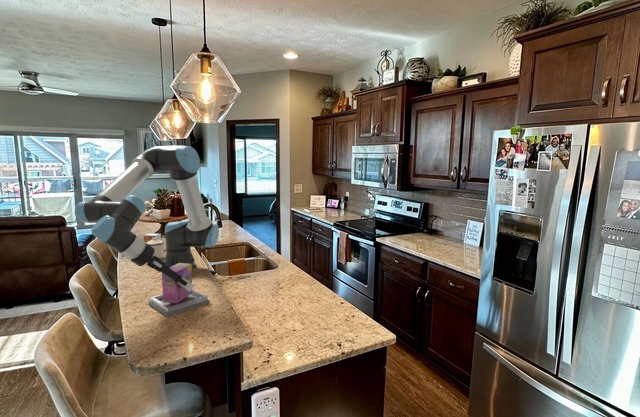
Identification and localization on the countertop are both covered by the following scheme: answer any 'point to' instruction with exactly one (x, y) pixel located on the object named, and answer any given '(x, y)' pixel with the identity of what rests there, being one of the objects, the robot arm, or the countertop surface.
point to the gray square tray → (178, 303)
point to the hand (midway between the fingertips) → (186, 284)
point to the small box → (151, 237)
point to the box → (176, 291)
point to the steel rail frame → (172, 308)
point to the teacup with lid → (157, 247)
